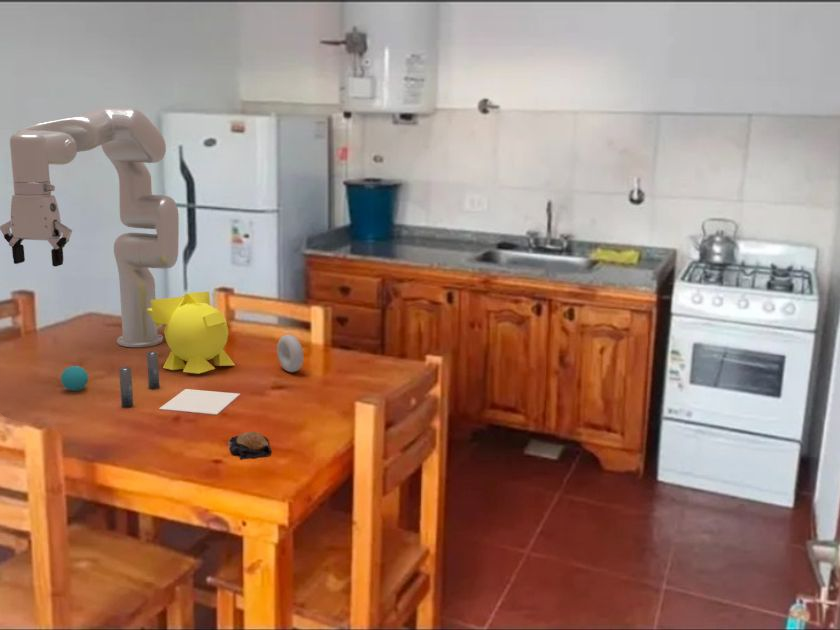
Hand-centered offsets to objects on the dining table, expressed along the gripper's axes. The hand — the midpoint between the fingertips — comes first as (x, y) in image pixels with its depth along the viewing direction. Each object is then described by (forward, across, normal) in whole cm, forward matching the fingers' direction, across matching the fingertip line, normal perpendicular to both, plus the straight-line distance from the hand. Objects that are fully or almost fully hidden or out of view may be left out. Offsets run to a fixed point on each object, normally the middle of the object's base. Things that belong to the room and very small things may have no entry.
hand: (38, 264), depth 198 cm
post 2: (+31, -22, -10) cm, 39 cm away
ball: (+28, -5, -3) cm, 29 cm away
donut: (+31, -50, -30) cm, 66 cm away
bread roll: (+32, -58, +20) cm, 69 cm away
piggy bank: (+32, -24, -28) cm, 48 cm away
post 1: (+31, -22, +4) cm, 38 cm away
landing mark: (+31, -37, -3) cm, 48 cm away
